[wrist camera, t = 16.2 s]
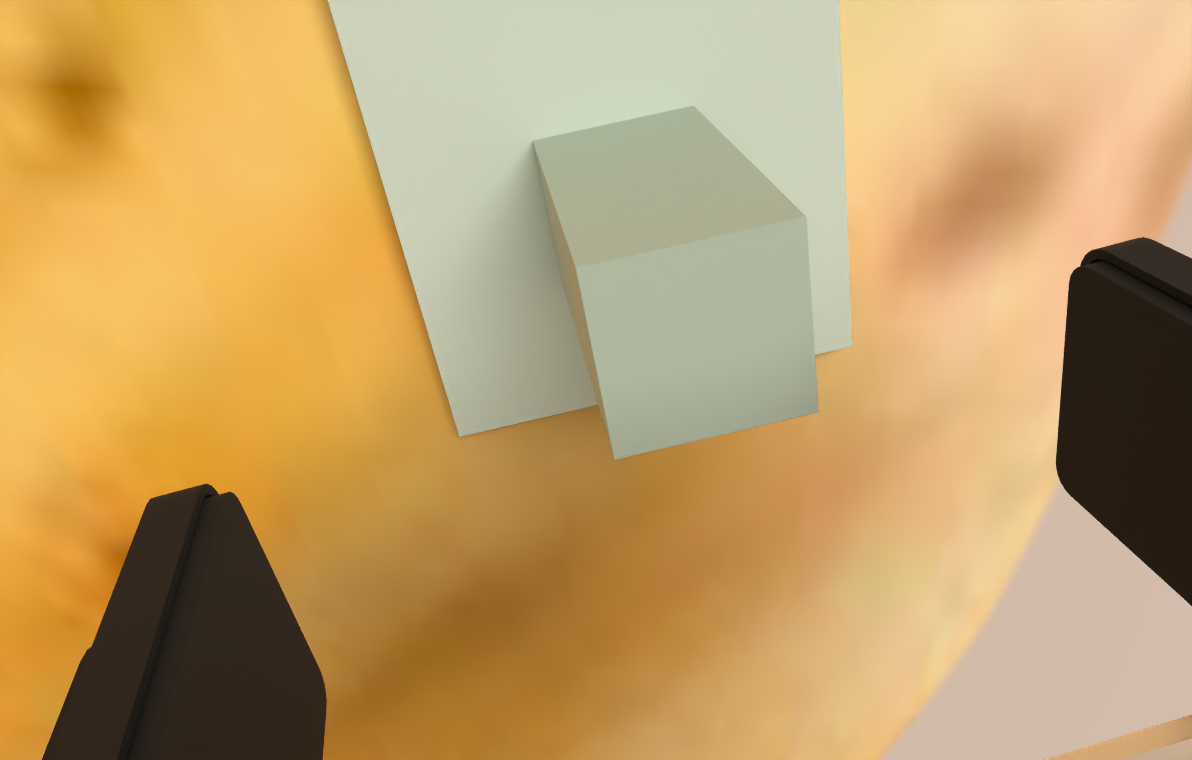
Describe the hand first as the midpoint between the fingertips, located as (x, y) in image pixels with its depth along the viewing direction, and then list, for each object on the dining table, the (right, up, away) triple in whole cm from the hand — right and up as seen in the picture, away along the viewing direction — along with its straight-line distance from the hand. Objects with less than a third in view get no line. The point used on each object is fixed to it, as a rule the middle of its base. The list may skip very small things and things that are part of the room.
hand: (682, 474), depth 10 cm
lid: (-1, +7, +7) cm, 10 cm away
